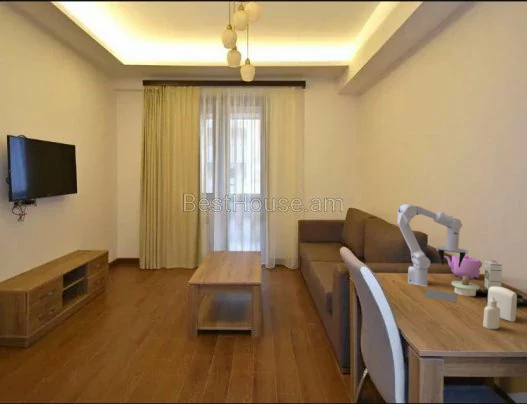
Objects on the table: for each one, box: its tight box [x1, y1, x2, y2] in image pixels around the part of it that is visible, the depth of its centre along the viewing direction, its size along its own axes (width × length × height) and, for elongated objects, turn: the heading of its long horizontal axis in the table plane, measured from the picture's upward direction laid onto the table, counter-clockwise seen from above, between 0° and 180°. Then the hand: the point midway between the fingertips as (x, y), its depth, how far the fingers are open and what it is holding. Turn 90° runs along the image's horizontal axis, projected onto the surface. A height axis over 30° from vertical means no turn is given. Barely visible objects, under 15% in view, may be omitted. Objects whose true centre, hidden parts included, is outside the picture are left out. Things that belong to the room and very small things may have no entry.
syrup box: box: [483, 259, 503, 291], centre depth 173 cm, size 6×6×14 cm
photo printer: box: [486, 286, 518, 323], centre depth 139 cm, size 10×4×12 cm, turn 26°
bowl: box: [454, 287, 477, 297], centre depth 166 cm, size 9×9×4 cm
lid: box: [450, 276, 481, 291], centre depth 166 cm, size 12×12×5 cm
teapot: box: [444, 254, 483, 280], centre depth 195 cm, size 20×10×12 cm, turn 72°
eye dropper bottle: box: [482, 297, 501, 330], centre depth 129 cm, size 4×6×12 cm
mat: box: [423, 288, 458, 303], centre depth 162 cm, size 13×13×1 cm
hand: (451, 265), depth 180 cm, fingers open, 7 cm apart
